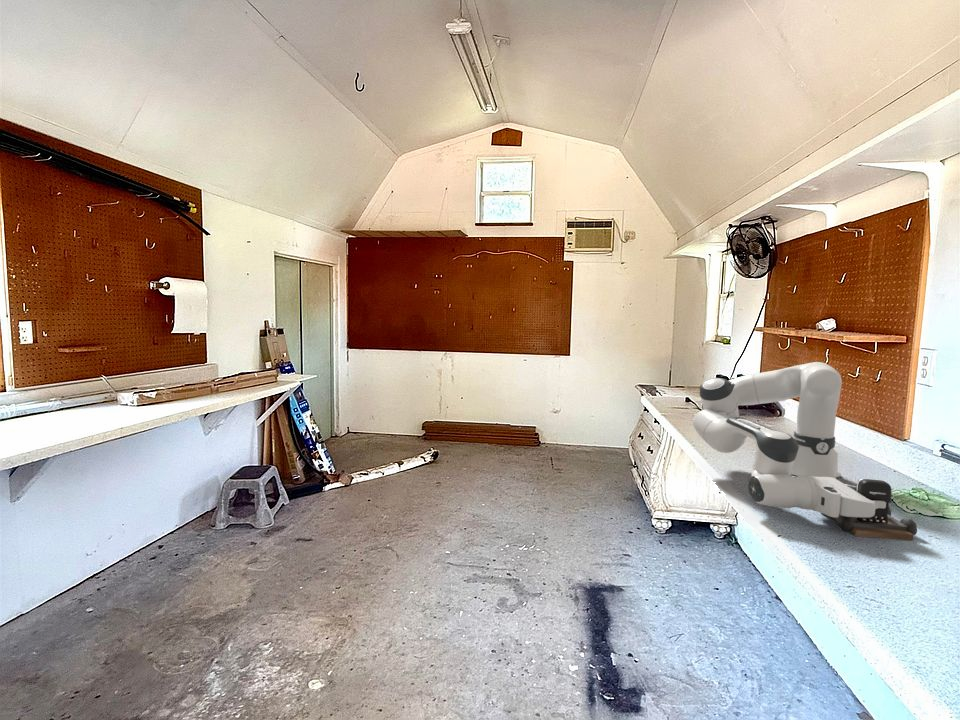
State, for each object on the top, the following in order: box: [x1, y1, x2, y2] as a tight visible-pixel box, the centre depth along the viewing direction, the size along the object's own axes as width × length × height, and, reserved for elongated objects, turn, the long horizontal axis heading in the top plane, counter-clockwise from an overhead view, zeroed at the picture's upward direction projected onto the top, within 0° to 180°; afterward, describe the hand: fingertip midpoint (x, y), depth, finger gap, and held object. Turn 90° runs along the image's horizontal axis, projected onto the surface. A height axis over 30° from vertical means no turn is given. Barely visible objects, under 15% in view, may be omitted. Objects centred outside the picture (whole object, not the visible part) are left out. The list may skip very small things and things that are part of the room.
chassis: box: [819, 506, 918, 541], centre depth 134 cm, size 17×16×4 cm
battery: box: [855, 478, 893, 524], centre depth 130 cm, size 7×4×11 cm, turn 73°
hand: (873, 497), depth 132 cm, fingers open, 8 cm apart
